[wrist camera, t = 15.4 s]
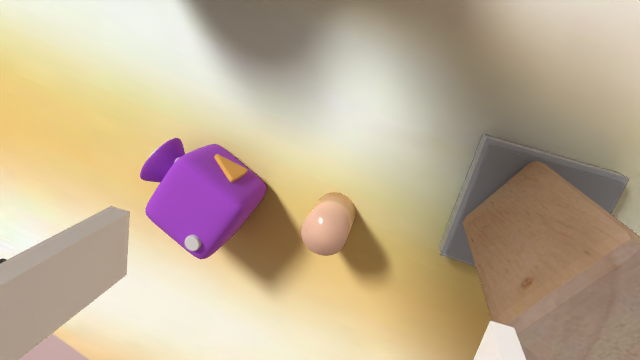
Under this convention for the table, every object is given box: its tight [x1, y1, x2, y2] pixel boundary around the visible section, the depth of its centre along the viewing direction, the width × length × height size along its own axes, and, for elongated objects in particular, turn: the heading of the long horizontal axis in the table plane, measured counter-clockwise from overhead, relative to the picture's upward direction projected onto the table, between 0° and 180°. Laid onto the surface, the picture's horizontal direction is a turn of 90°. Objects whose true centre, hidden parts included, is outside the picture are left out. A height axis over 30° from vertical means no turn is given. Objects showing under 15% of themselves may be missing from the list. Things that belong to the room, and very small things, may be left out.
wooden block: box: [463, 161, 640, 360], centre depth 33 cm, size 10×10×20 cm
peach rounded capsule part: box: [301, 193, 356, 256], centre depth 47 cm, size 5×5×7 cm
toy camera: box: [140, 138, 267, 259], centre depth 48 cm, size 11×14×10 cm
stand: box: [439, 134, 629, 266], centre depth 44 cm, size 14×14×3 cm
